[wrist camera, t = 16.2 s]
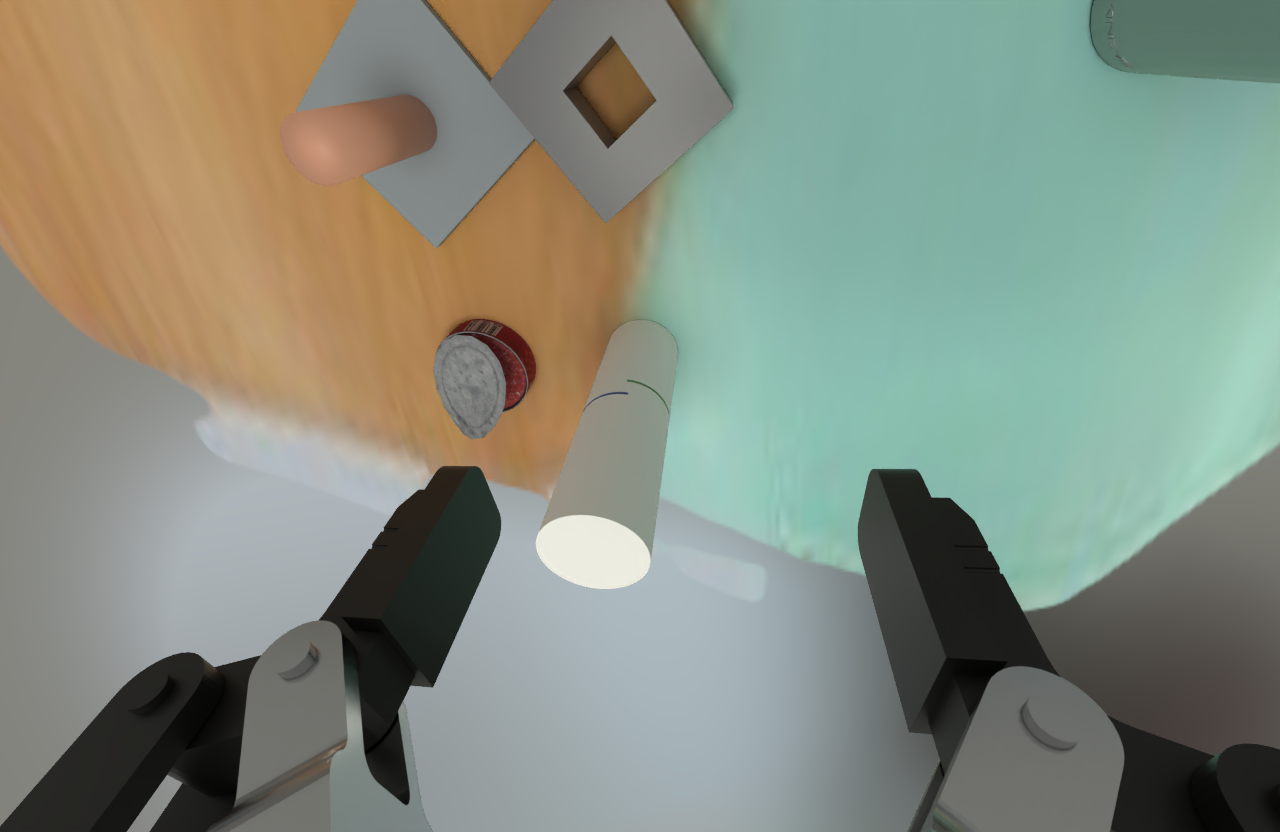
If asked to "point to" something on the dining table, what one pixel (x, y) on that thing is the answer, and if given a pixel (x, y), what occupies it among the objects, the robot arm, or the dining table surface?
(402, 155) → the plug
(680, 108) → the gray square hole block
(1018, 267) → the dining table surface
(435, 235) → the mat
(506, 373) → the canned food
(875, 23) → the dining table surface
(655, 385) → the cylindrical container
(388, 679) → the robot arm
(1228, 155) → the dining table surface
